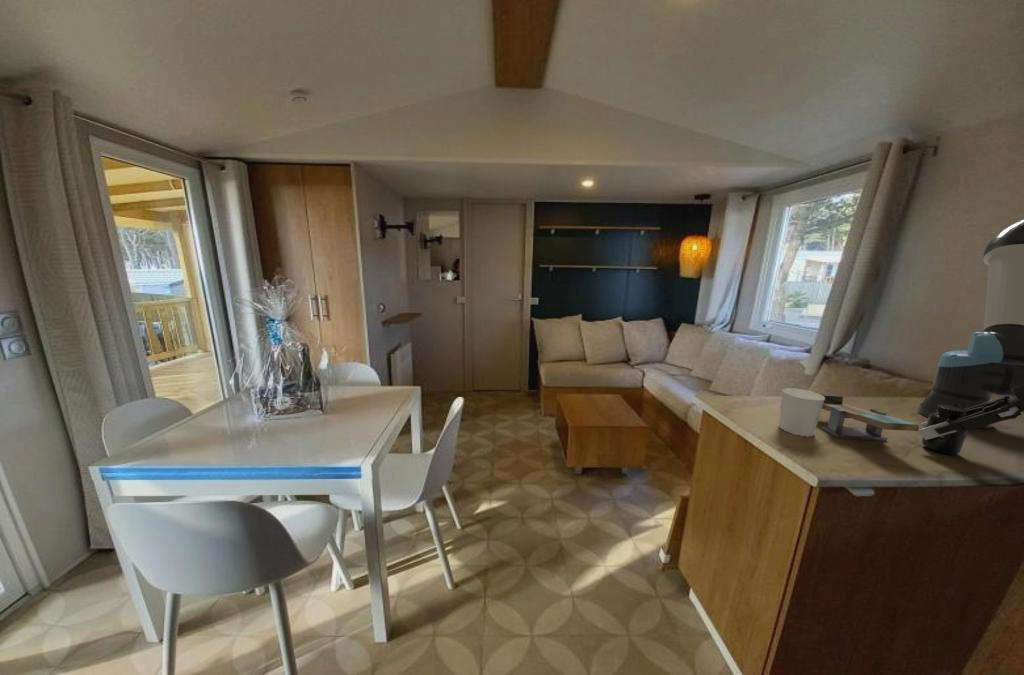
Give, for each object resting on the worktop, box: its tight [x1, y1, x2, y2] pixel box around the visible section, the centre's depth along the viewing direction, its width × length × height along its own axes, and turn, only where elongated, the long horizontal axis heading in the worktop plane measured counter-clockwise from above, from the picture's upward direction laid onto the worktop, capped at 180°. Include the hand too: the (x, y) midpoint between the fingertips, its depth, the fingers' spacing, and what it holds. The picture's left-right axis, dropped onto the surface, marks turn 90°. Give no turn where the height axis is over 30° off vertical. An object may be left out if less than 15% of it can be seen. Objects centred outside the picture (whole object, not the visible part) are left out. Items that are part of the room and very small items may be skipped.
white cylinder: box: [778, 387, 825, 438], centre depth 102 cm, size 10×10×12 cm
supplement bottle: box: [921, 404, 969, 455], centre depth 90 cm, size 7×7×12 cm
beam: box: [819, 393, 920, 432], centre depth 99 cm, size 9×25×5 cm, turn 173°
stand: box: [821, 407, 888, 442], centre depth 100 cm, size 13×6×8 cm, turn 83°
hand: (923, 431), depth 94 cm, fingers closed on supplement bottle, 7 cm apart
